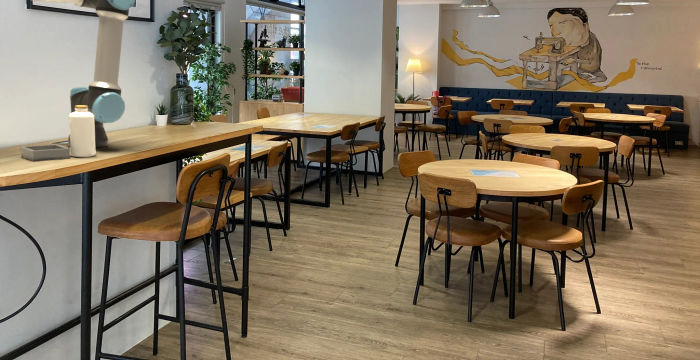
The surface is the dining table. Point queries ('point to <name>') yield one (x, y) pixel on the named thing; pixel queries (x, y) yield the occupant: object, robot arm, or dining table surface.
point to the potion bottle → (82, 132)
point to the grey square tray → (45, 152)
